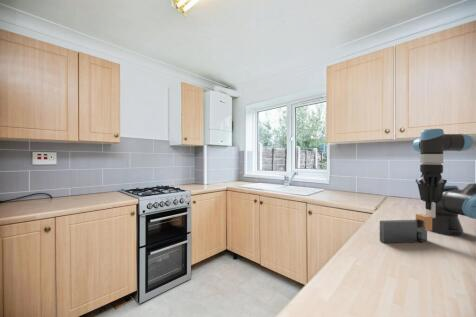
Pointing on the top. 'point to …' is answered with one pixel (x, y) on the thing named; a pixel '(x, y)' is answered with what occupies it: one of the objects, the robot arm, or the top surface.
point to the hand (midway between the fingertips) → (430, 216)
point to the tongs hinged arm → (399, 231)
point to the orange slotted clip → (425, 221)
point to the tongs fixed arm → (420, 230)
